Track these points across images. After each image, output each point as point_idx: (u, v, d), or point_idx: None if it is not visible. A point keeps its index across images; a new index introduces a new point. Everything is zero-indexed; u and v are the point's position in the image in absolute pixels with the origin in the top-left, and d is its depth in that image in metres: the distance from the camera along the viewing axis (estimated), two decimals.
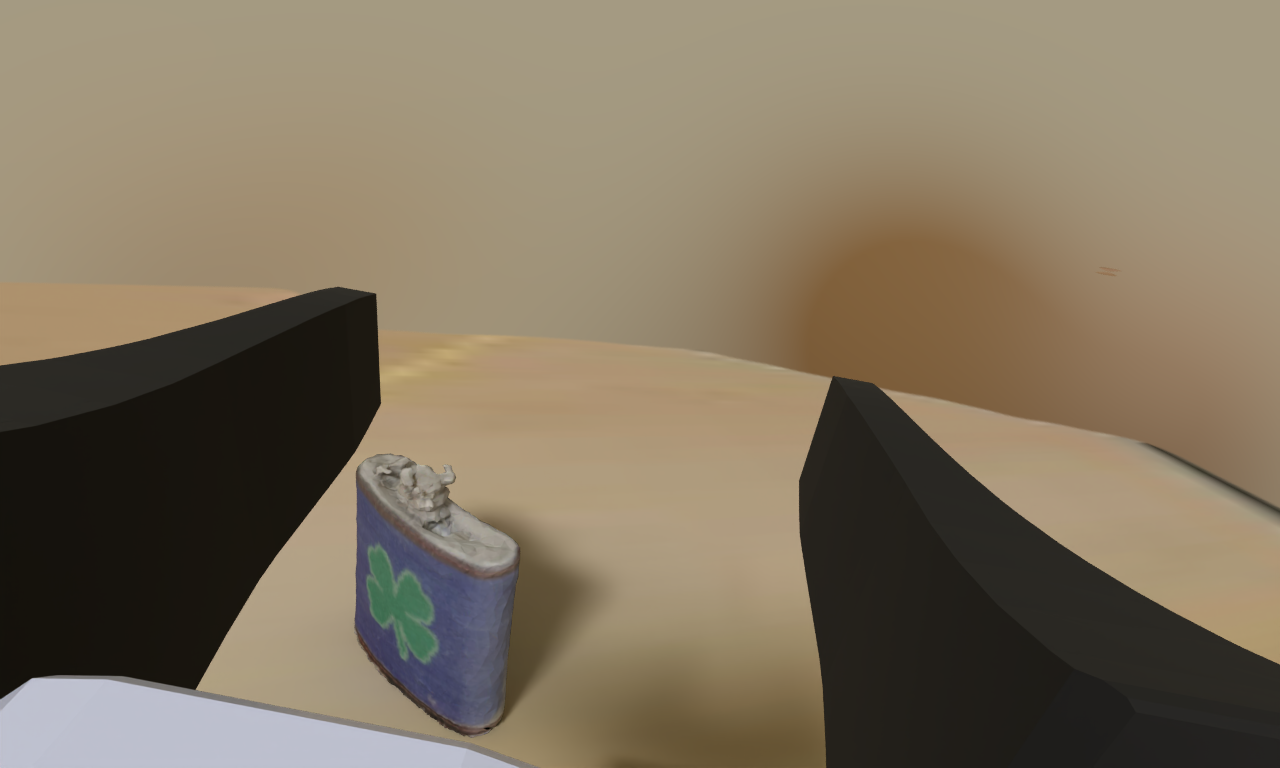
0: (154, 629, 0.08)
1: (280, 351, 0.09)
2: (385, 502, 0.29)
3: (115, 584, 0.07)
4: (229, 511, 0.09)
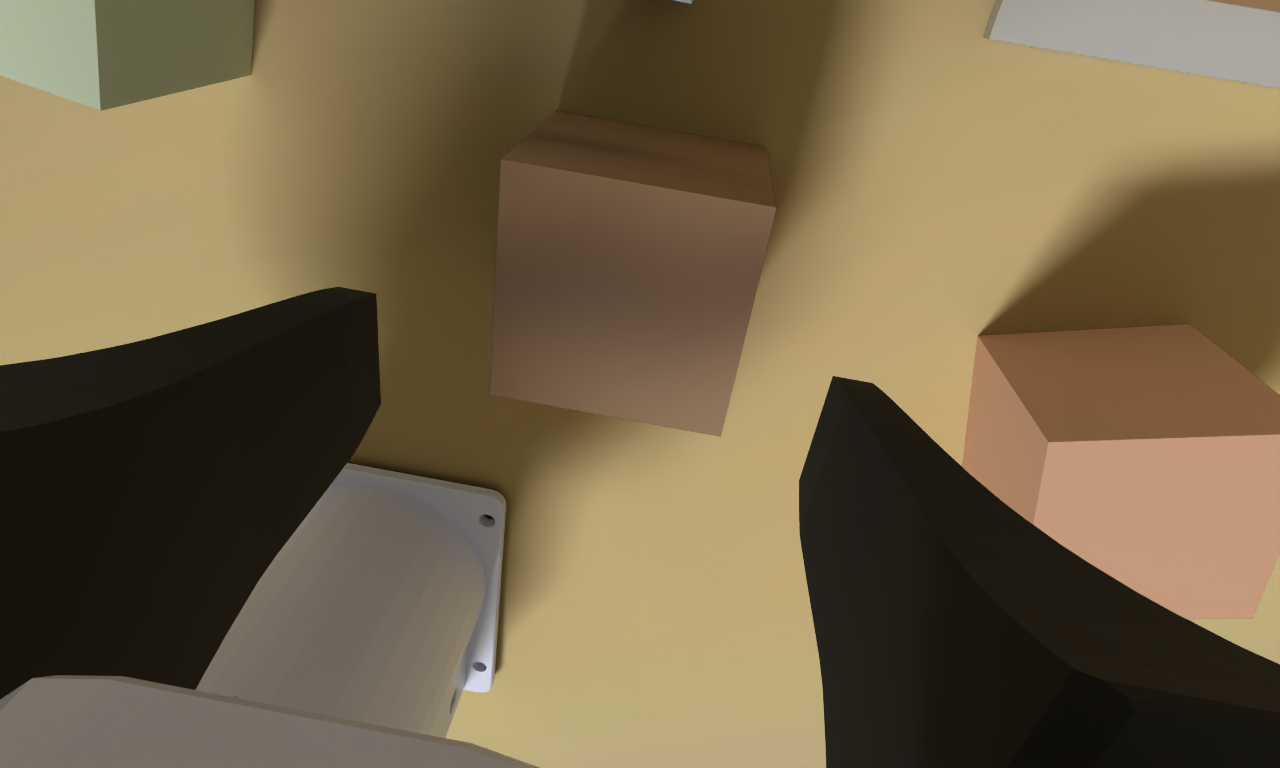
0: (154, 629, 0.08)
1: (280, 351, 0.09)
2: None
3: (115, 584, 0.07)
4: (229, 511, 0.09)
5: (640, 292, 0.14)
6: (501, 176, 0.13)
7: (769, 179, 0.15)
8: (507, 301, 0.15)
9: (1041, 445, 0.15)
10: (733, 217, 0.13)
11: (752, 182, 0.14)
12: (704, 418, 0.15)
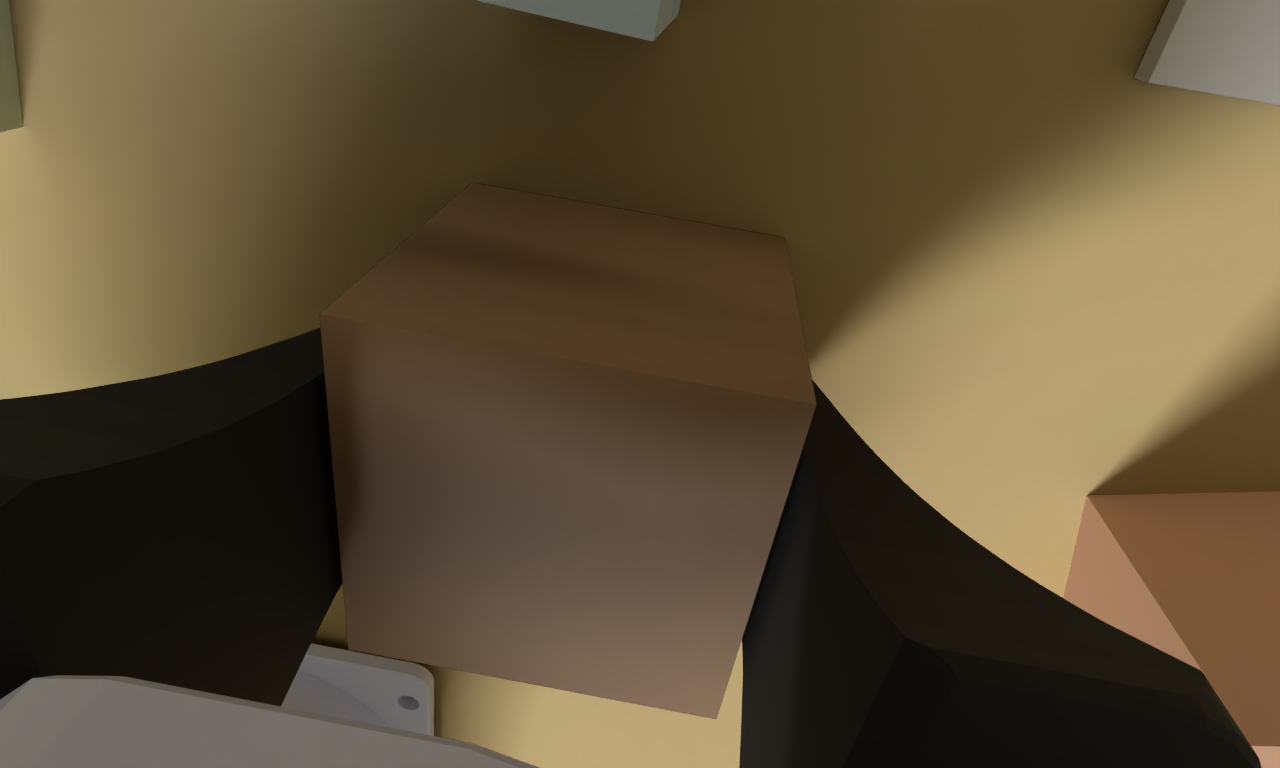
0: (251, 647, 0.08)
1: None
2: None
3: (222, 604, 0.07)
4: (314, 527, 0.09)
5: (578, 523, 0.08)
6: (323, 342, 0.07)
7: (797, 320, 0.09)
8: (359, 526, 0.09)
9: None
10: (738, 415, 0.07)
11: (769, 332, 0.08)
12: (690, 695, 0.10)
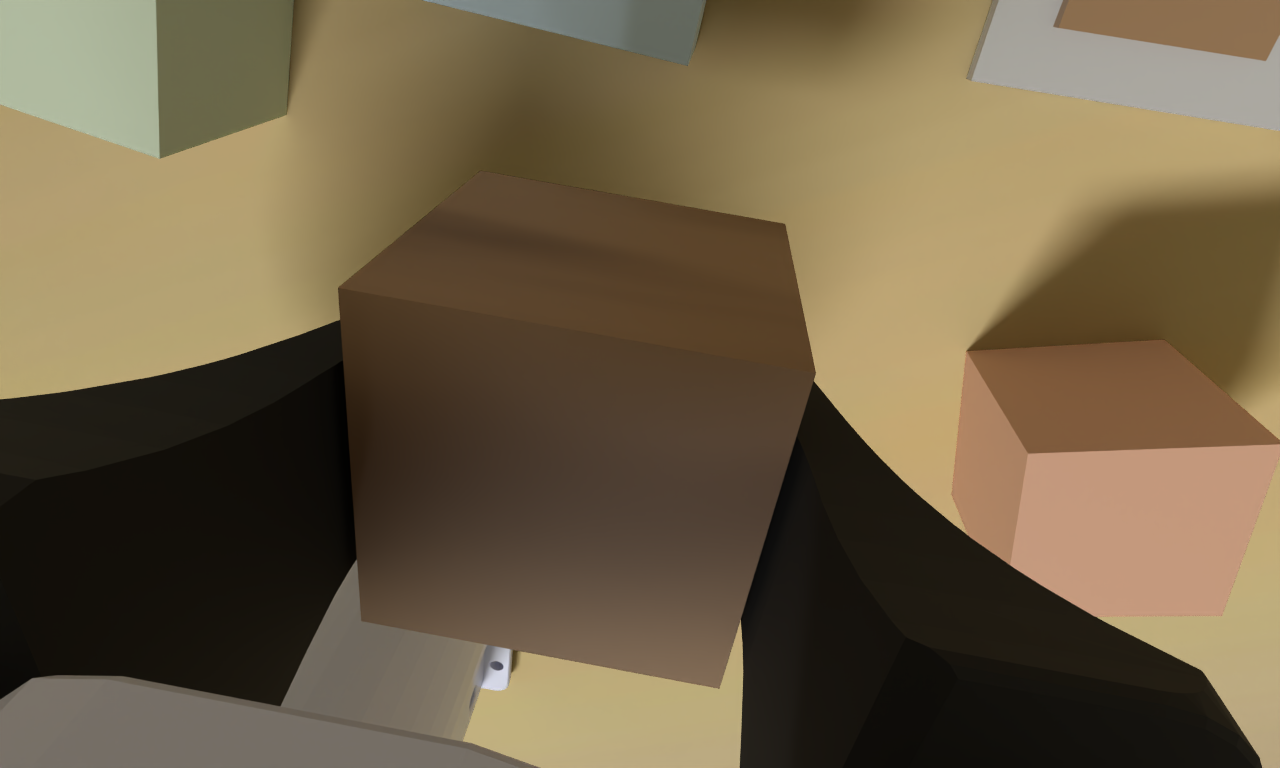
0: (250, 647, 0.08)
1: None
2: None
3: (221, 604, 0.07)
4: (314, 527, 0.09)
5: (586, 492, 0.09)
6: (341, 315, 0.08)
7: (797, 298, 0.09)
8: (374, 498, 0.09)
9: (1021, 456, 0.16)
10: (740, 385, 0.08)
11: (770, 308, 0.09)
12: (694, 664, 0.10)
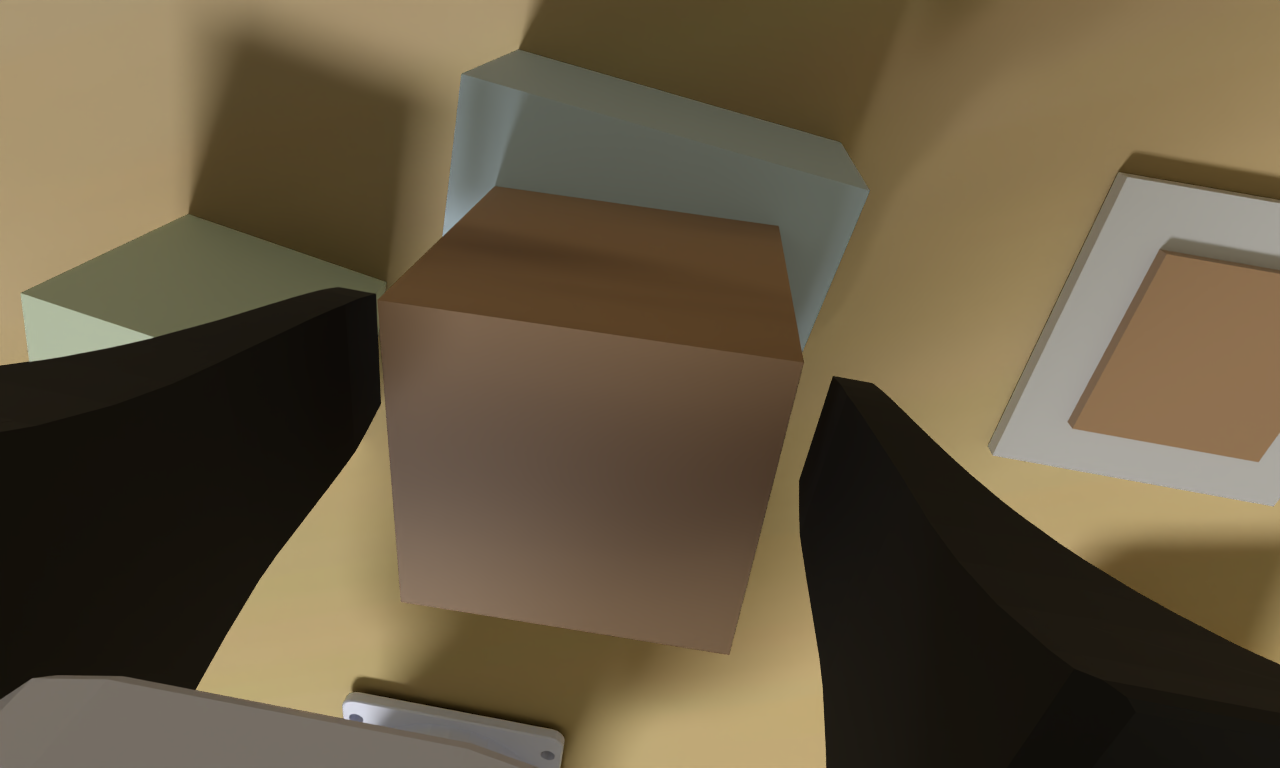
0: (154, 629, 0.08)
1: (280, 351, 0.09)
2: None
3: (115, 584, 0.07)
4: (229, 511, 0.09)
5: (602, 477, 0.10)
6: (380, 324, 0.09)
7: (788, 295, 0.10)
8: (411, 488, 0.10)
9: None
10: (737, 375, 0.09)
11: (763, 306, 0.10)
12: (705, 633, 0.11)
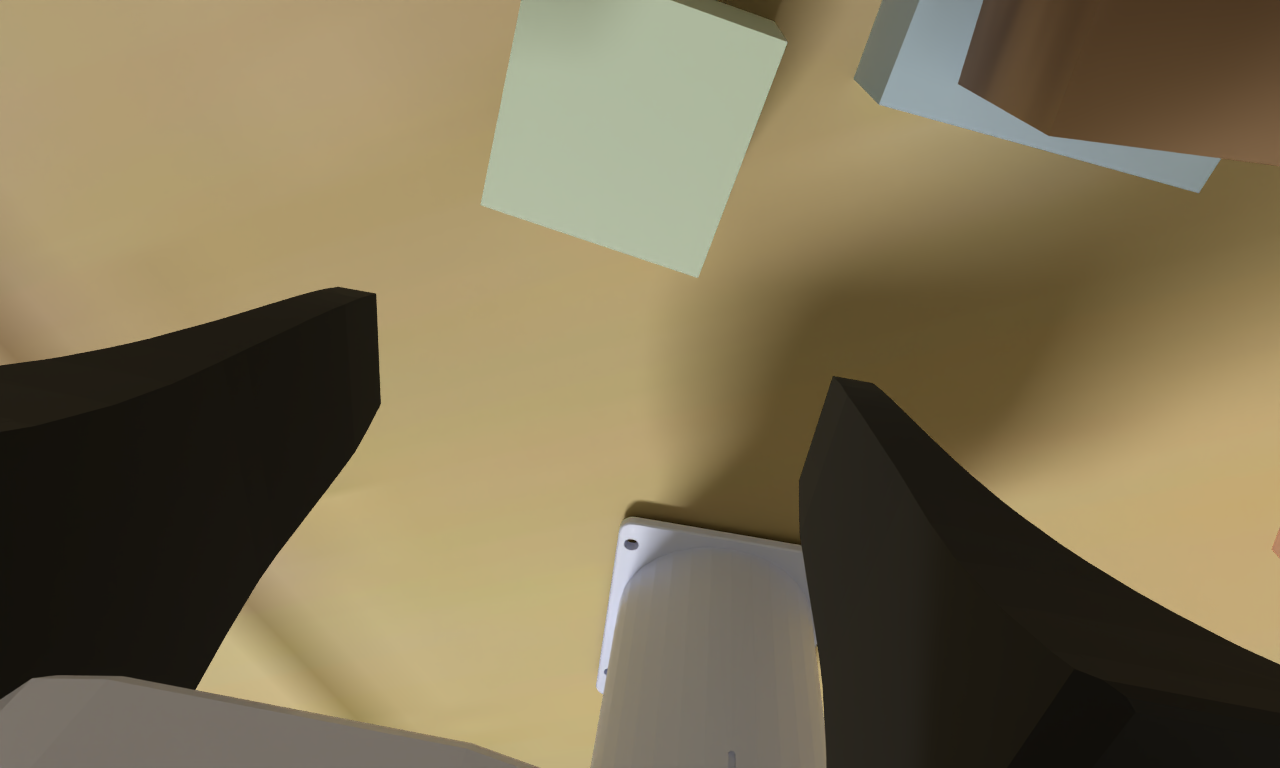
0: (154, 629, 0.08)
1: (280, 351, 0.09)
2: None
3: (115, 584, 0.07)
4: (229, 511, 0.09)
5: None
6: None
7: None
8: None
9: None
10: None
11: None
12: None
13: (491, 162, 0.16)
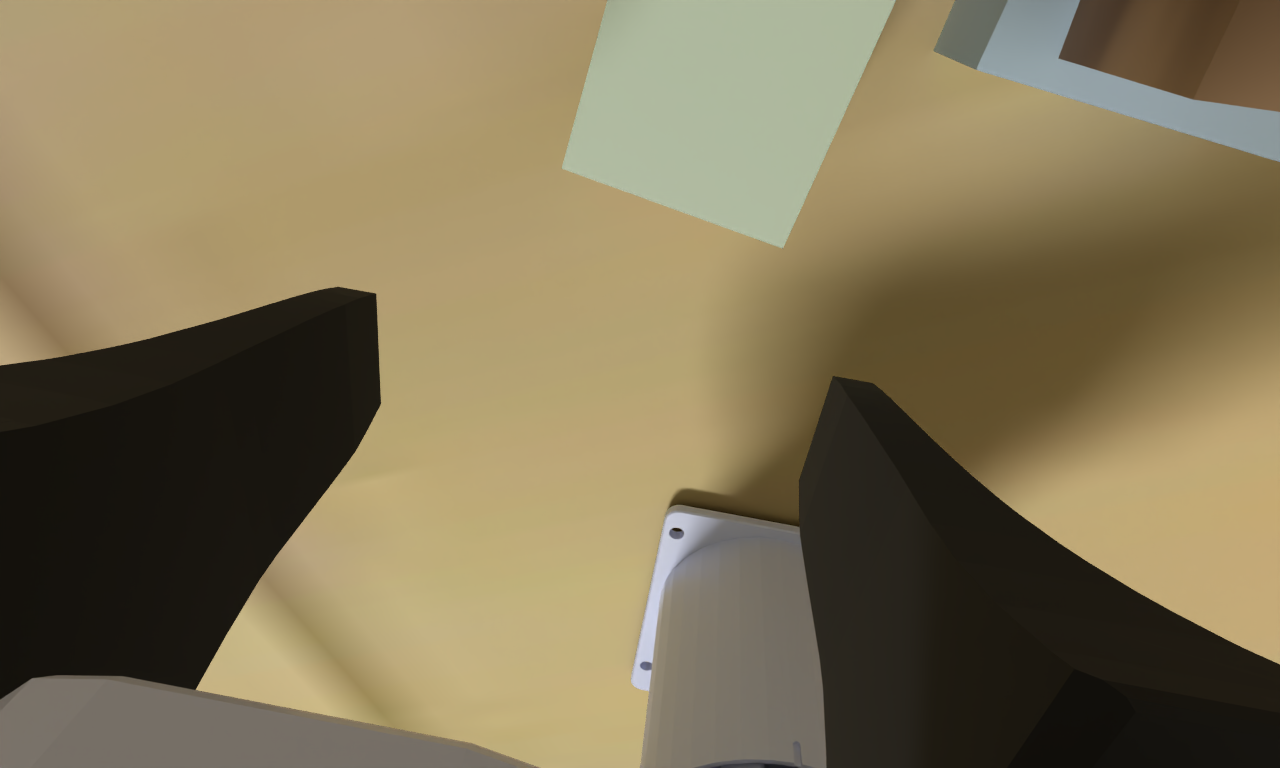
0: (154, 629, 0.08)
1: (280, 351, 0.09)
2: None
3: (115, 584, 0.07)
4: (229, 511, 0.09)
5: None
6: None
7: None
8: None
9: None
10: None
11: None
12: None
13: (576, 122, 0.15)
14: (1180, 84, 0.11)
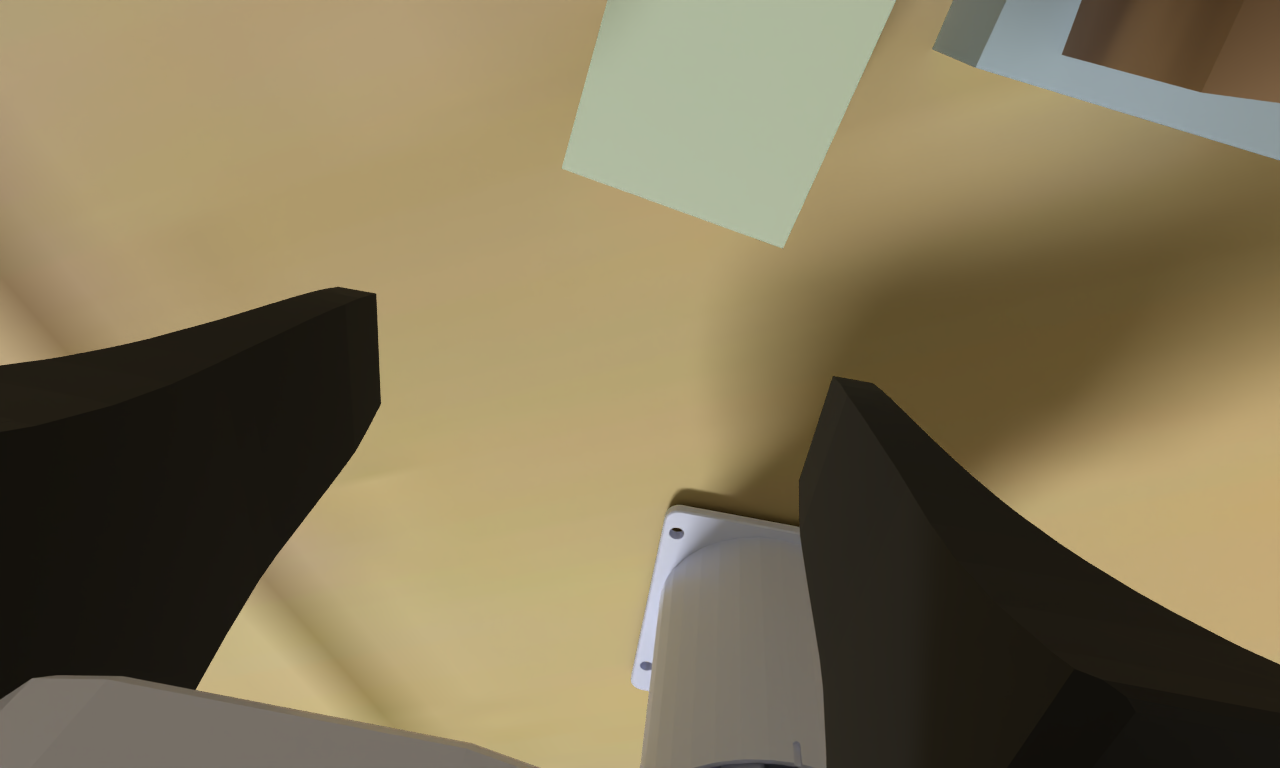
0: (154, 629, 0.08)
1: (280, 351, 0.09)
2: None
3: (115, 584, 0.07)
4: (229, 511, 0.09)
5: None
6: None
7: None
8: None
9: None
10: None
11: None
12: None
13: (576, 122, 0.15)
14: (1188, 77, 0.11)
